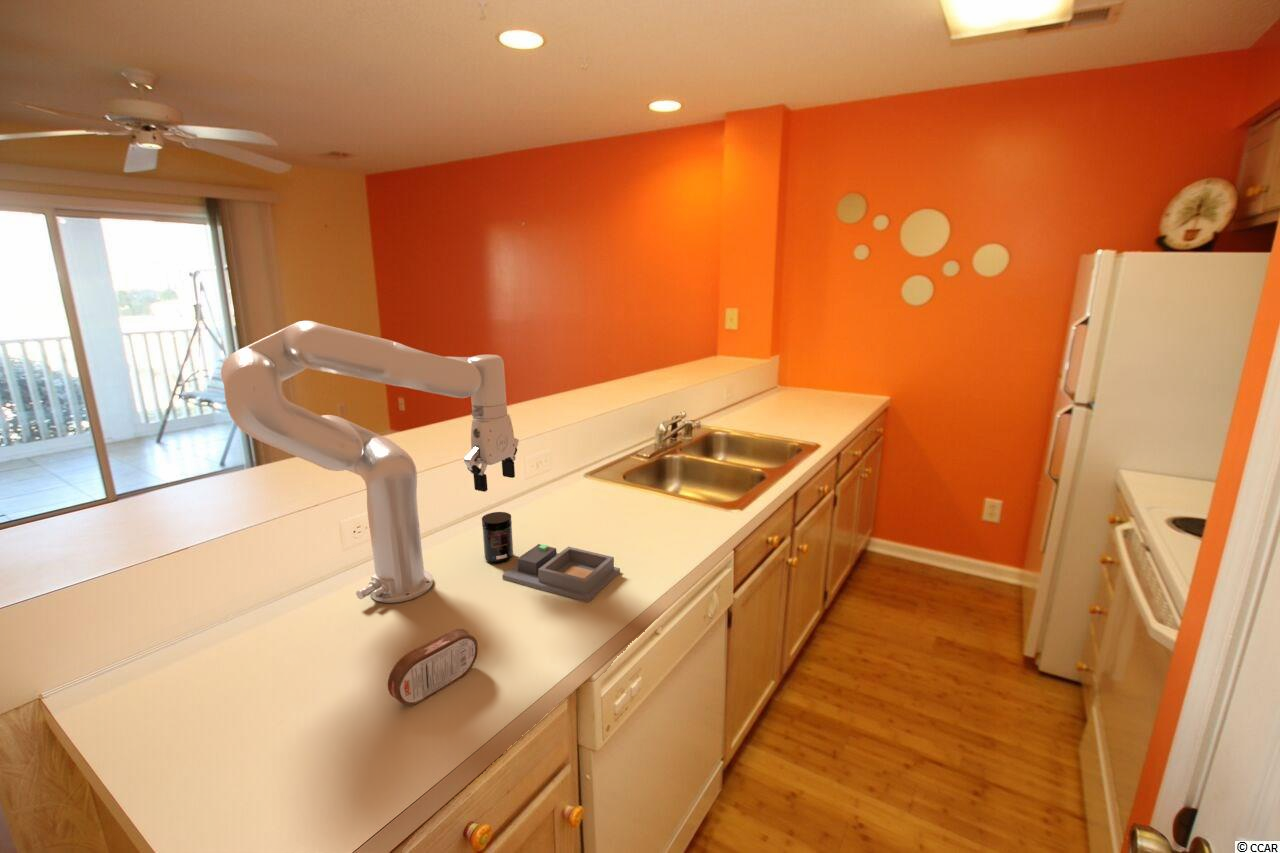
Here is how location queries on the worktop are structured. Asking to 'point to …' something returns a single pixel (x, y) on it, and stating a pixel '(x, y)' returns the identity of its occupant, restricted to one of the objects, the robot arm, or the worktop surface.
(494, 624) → the worktop surface
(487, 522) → the supplement container
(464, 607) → the worktop surface
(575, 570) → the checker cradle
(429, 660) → the tin
